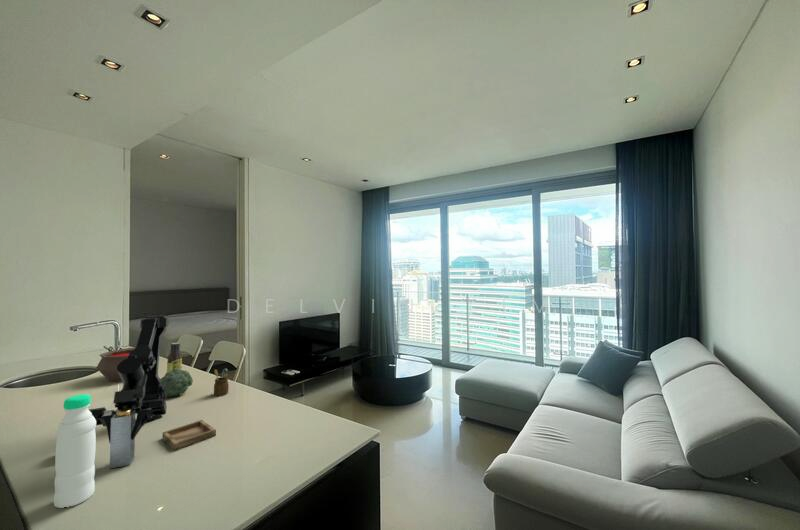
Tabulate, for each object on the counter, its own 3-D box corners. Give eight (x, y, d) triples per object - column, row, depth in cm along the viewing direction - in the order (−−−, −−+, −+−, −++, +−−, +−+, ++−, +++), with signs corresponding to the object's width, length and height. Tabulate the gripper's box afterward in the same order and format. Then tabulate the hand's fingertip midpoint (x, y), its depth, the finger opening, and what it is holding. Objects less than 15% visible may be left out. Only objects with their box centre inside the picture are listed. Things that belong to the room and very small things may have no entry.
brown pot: (82, 383, 162) (83, 351, 162) (129, 369, 185) (130, 341, 186) (122, 386, 158) (123, 353, 158) (165, 372, 181) (166, 342, 182)
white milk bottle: (72, 490, 82) (75, 391, 83) (102, 489, 83) (104, 391, 84) (44, 510, 75) (47, 402, 76) (77, 508, 76) (80, 401, 77)
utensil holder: (231, 392, 151) (231, 366, 151) (219, 397, 145) (220, 370, 145) (221, 390, 153) (222, 365, 153) (210, 395, 147) (210, 369, 147)
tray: (162, 438, 108) (162, 432, 108) (201, 425, 118) (201, 419, 118) (175, 450, 101) (175, 444, 101) (215, 435, 110) (216, 429, 110)
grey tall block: (115, 460, 95) (116, 409, 95) (134, 456, 97) (135, 406, 97) (109, 468, 91) (111, 415, 91) (129, 464, 93) (131, 412, 93)
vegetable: (198, 381, 159) (197, 375, 147) (176, 406, 151) (173, 401, 139) (176, 368, 157) (173, 361, 146) (153, 392, 149) (148, 386, 138)
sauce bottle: (173, 385, 160) (174, 345, 161) (162, 384, 161) (163, 344, 162) (184, 380, 166) (185, 342, 167) (174, 380, 168) (175, 341, 168)
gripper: (87, 382, 94) (69, 437, 84) (165, 373, 102) (157, 422, 92) (97, 399, 101) (81, 453, 91) (169, 390, 109) (162, 438, 99)
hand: (121, 441), depth 93 cm, fingers closed on grey tall block, 4 cm apart
